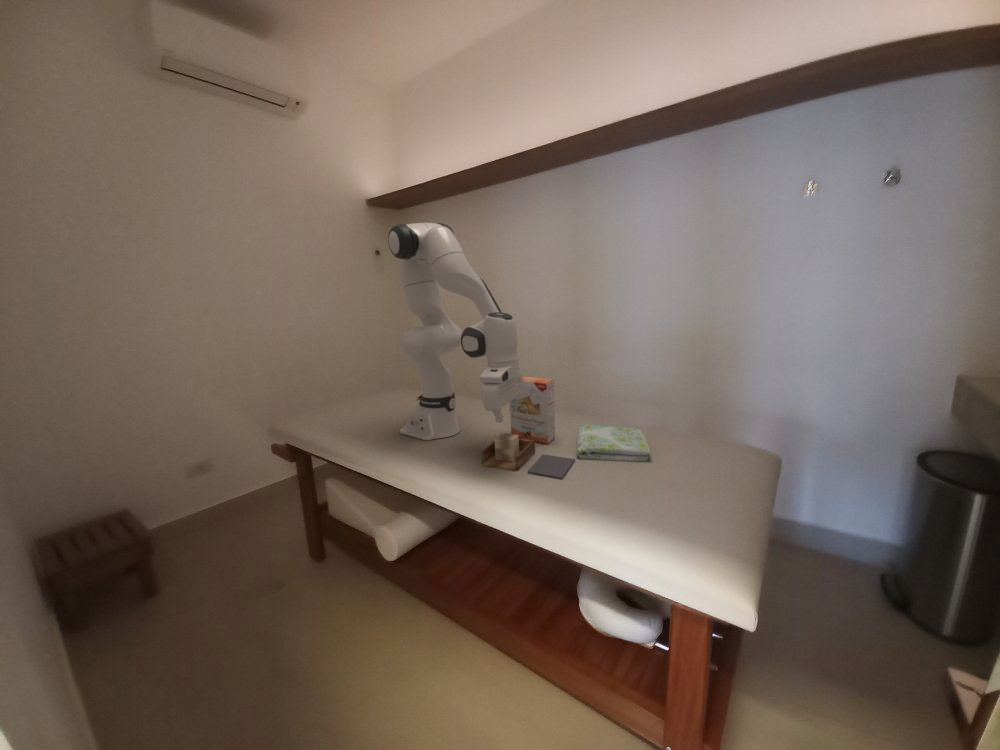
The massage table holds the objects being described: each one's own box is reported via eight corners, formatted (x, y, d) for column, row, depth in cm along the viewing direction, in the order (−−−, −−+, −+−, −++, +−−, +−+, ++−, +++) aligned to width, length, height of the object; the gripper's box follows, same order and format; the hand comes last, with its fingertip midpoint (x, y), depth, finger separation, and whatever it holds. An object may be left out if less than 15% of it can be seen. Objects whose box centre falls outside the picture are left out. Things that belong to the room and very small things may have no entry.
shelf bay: (480, 464, 117) (479, 452, 116) (500, 447, 128) (500, 435, 128) (517, 471, 112) (516, 458, 111) (535, 452, 123) (534, 440, 122)
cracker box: (510, 438, 136) (507, 378, 131) (519, 432, 141) (517, 374, 136) (547, 445, 128) (545, 382, 124) (555, 439, 133) (554, 378, 128)
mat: (527, 473, 110) (527, 471, 110) (542, 456, 121) (542, 454, 120) (562, 479, 106) (562, 477, 106) (574, 461, 116) (574, 459, 116)
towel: (652, 464, 113) (652, 447, 112) (576, 460, 118) (576, 444, 116) (643, 439, 130) (644, 424, 129) (577, 437, 135) (577, 422, 134)
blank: (495, 459, 119) (494, 437, 117) (501, 453, 122) (500, 432, 121) (513, 462, 116) (512, 439, 115) (519, 456, 120) (518, 435, 118)
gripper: (509, 362, 123) (511, 405, 126) (476, 377, 106) (480, 426, 109) (527, 363, 121) (530, 406, 123) (497, 378, 103) (501, 429, 106)
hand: (506, 416), depth 116 cm, fingers open, 8 cm apart
